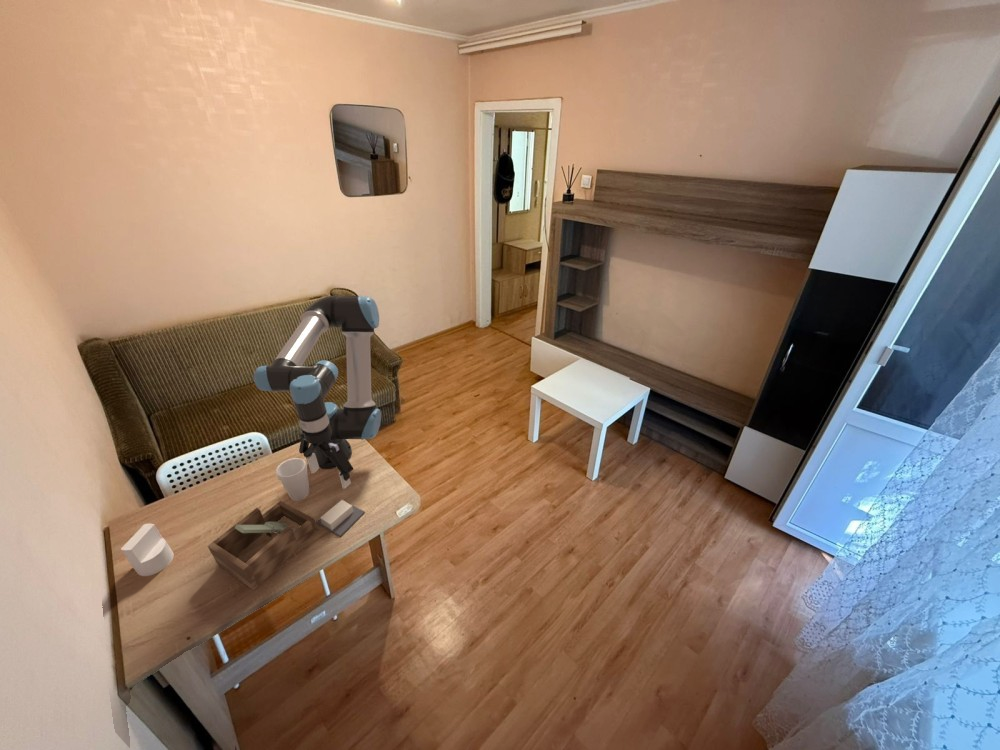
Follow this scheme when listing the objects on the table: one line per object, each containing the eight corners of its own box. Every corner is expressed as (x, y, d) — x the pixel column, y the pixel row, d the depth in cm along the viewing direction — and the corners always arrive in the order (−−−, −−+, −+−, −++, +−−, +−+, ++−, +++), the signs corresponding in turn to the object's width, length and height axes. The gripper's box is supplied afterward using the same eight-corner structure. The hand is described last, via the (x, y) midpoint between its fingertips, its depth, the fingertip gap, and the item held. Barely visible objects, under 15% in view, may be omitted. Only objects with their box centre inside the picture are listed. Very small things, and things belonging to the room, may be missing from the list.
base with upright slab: (152, 548, 127) (135, 522, 121) (180, 549, 127) (165, 524, 120) (128, 575, 119) (109, 549, 113) (158, 576, 119) (140, 550, 113)
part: (343, 505, 142) (342, 499, 140) (353, 511, 139) (352, 505, 138) (321, 523, 135) (320, 517, 133) (332, 530, 133) (330, 524, 131)
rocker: (279, 524, 135) (282, 519, 135) (298, 535, 131) (301, 529, 132) (228, 524, 118) (231, 518, 118) (248, 536, 114) (251, 530, 114)
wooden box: (284, 511, 140) (277, 492, 135) (318, 529, 134) (311, 510, 129) (218, 566, 122) (207, 546, 117) (253, 590, 116) (243, 569, 111)
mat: (341, 500, 144) (340, 499, 144) (364, 512, 140) (364, 511, 140) (316, 523, 136) (316, 522, 135) (340, 536, 132) (340, 535, 131)
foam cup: (303, 506, 142) (294, 479, 135) (279, 501, 143) (269, 474, 137) (319, 486, 150) (311, 460, 143) (296, 482, 151) (287, 456, 145)
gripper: (275, 420, 119) (293, 472, 131) (338, 447, 110) (351, 500, 121) (296, 406, 125) (312, 457, 136) (357, 431, 116) (369, 484, 127)
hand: (330, 478), depth 129 cm, fingers open, 13 cm apart
